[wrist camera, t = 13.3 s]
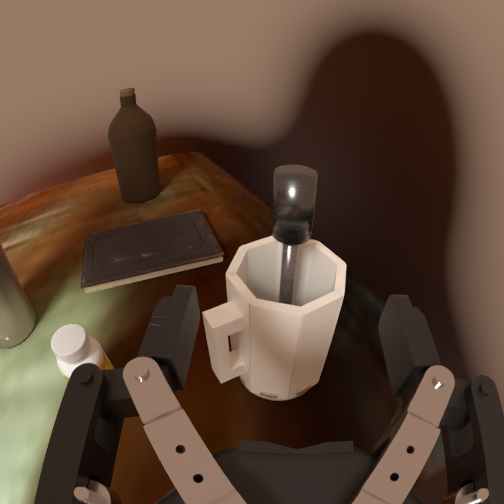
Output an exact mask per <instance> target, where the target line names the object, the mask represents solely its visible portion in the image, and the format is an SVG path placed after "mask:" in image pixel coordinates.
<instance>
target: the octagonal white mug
mask: <svg viewBox="0 0 504 504" xmlns="http://www.w3.org/2000/svg"><path fill="white" fill-rule="evenodd" d="M282 250H283V243H281V242H278V241H277V240H276V239H274V237H273V236H270V237H267V238H264V239H261V240H258V241H255V242H252V243H248V244H245V245H242V246H241V247H239V249H238V251H237V253H236V255H235V257H234V258H233V260H232V262H231V264H230V266H229V268H228V270H227V272H226V285H227V299H228V303H225V304H223V305H220V306H217V307H215V308H212V309H209V310H207V311H204V312H202V313H203V319H204V325H205V331H206V337H207V343H208V349H209V354H210V360H211V365H212V369H213V371H214V373H215V374H216V376H217V378H218V379H219V381H220V383H223V382H226V381H228V380H230V379H232V378H235V377H237V376H239V377H240V380H241V381H242V383H243V384H244V386H245V387H246V388H247V389H248V390H249V391H251V393H253V394H255V395H257V396H259V397H261V398H264V399H268V400H273V401H284V400H290V399H294V398H296V397H299V396H301V395H302V394H304V393H305V392H307V391H308V390H309V389H310V388H311V387H312V386H314V385H316V384H317V383H318V381H319V378H320V375H321V372H322V369H323V366H324V363H325V360H326V356H327V353H328V350H329V347H330V343H331V340H332V337H333V333H334V330H335V327H336V323H337V320H338V316H339V312H340V309H341V305H342V301H343V298H344V293H345V279H346V263H345V262H344V261H343V260H341V259H340V258H339V257H338V256H336V255H335V254H334V253H333V252H331V251H330V250H329V249H328V248H327V247H325V246H324V245H323V244H322V243H320V242H319V241H318V242H317V240H310V239H309V241H307V242H306V243H303V244H300V245H298V252H297V262H296V271H295V280H294V289H293V297H292V305H289V304H283V303H279V291H280V278H281V264H282ZM229 335H230V337H231V348H232V351H231V352H229V345H228V336H229Z"/></svg>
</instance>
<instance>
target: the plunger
mask: <svg viewBox="0 0 504 504" xmlns="http://www.w3.org/2000/svg"><path fill="white" fill-rule="evenodd" d="M317 177H318V174H317V172H316V171H315V170H313V169H311V168H309V167H305V166H301V165H284V166H280V167H278V168H276V169H275V170H274V190H273V216H272V236H273V237H274V239H276V240H277V241H278V242H281V243H283V250H282V264H281V278H280V291H279V303H283V304H289V305H292V297H293V289H294V280H295V271H296V262H297V252H298V245H300V244H303V243H306V242H307V241H309V239H310V238H311V232H312V223H313V215H314V206H315V196H316V185H317Z"/></svg>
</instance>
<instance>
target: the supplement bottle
mask: <svg viewBox="0 0 504 504" xmlns="http://www.w3.org/2000/svg"><path fill="white" fill-rule="evenodd" d="M51 347H52V350H53V352H54V353H55V355H56V356H57V364H58V367H59V369H60V371H61V372H62V374H63V375H64V376H65V377H66V379H67V380H68V381H69V379H70V376H71V374H72V372H73V370H74V369H75V368H76V367H78V366H79V365H81V364H84V363H93V364H95V365H97V366H98V367H99V368H100V369H101V370H110V369H114V367H113V366H112V364H111V362H110V360H109V359H108V357H107V355H106V354H105V352H104V350H103V348H102V347H101V345H100V344H99V342H98V341H97V340H96V339H94V338H93V337H91V336H88V335H87V333H86V332H85V330H84V329H83V327H81V326H80V325H77V324H68V325H65V326H63V327H61V328H60V329H58V330H57V331H56V332H55V334H54V335H53V337H52V340H51Z"/></svg>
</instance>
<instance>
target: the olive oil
mask: <svg viewBox="0 0 504 504" xmlns="http://www.w3.org/2000/svg"><path fill="white" fill-rule="evenodd" d="M134 91H135V90H134V88H128V89H123V90H121V91H120V95H121V97H120V102H121V108H120V110H119V112H118V113H117V114H116V116H115V117H114V119H113V121H112V122H111V124H110V126H109V132H108V138H109V142H110V147H111V151H112V156H113V160H114V164H115V169H116V173H117V177H118V181H119V186H120V190H121V194H122V198H123V200H125V201H127V202H131V203H137V202H143V201H147V200H150V199H152V198H154V197H156V196H157V195H158V194H159V193H160V190H161V188H160V179H159V169H158V156H157V142H156V127H155V124H154V121H153V119H152V118H151V116H150V115H149V114H148V113H146V112H145V111H144V110H142V109H141V108H140V107H139V106H138V105H137V104H136V97H135V94H134Z"/></svg>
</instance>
